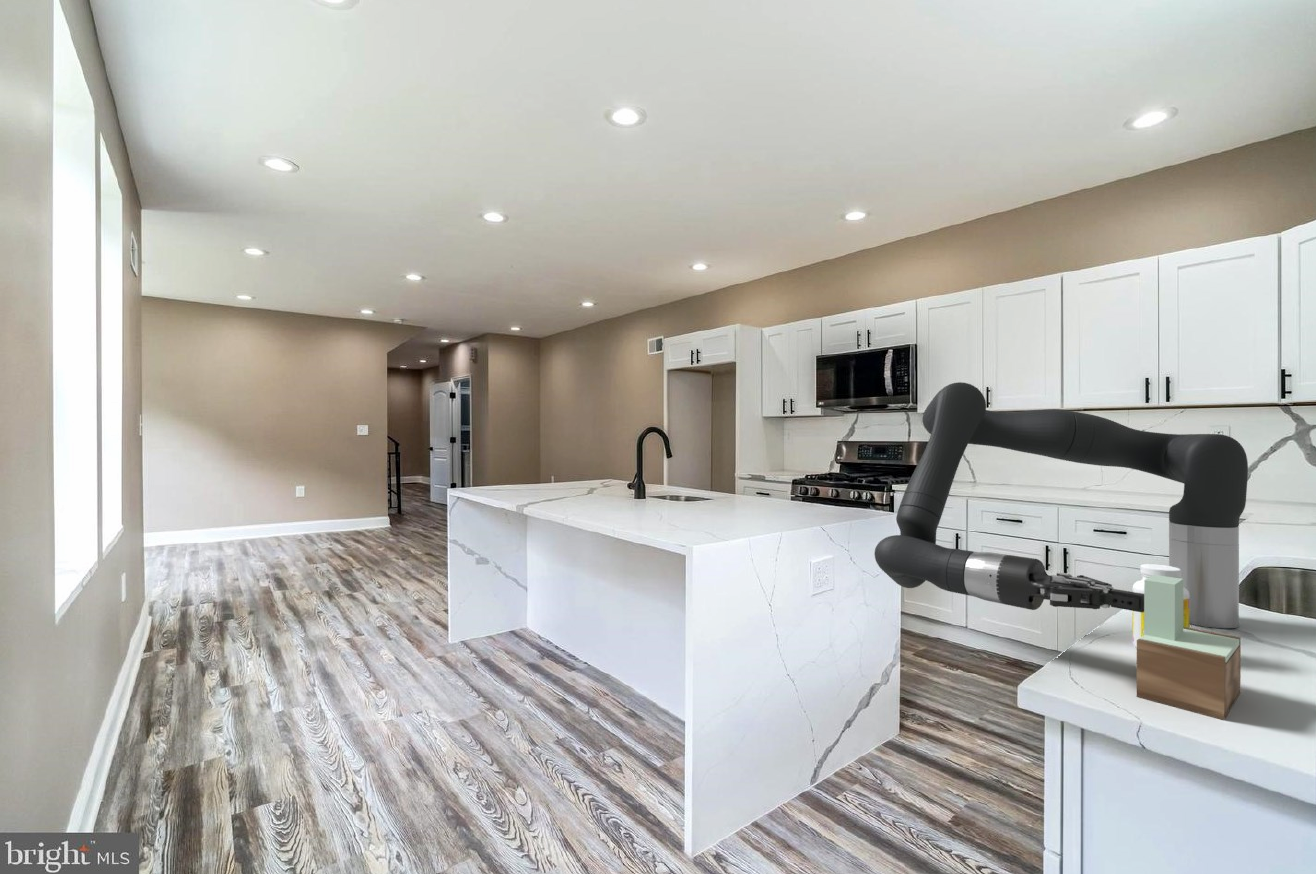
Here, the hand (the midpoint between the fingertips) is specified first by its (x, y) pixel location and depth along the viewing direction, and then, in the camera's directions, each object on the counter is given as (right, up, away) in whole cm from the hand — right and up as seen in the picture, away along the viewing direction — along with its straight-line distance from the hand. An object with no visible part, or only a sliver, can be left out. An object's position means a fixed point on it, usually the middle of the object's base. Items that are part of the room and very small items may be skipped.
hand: (1146, 603), depth 79 cm
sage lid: (+3, -4, -3) cm, 6 cm away
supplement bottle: (+12, -11, +12) cm, 20 cm away
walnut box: (+3, -10, -3) cm, 11 cm away
